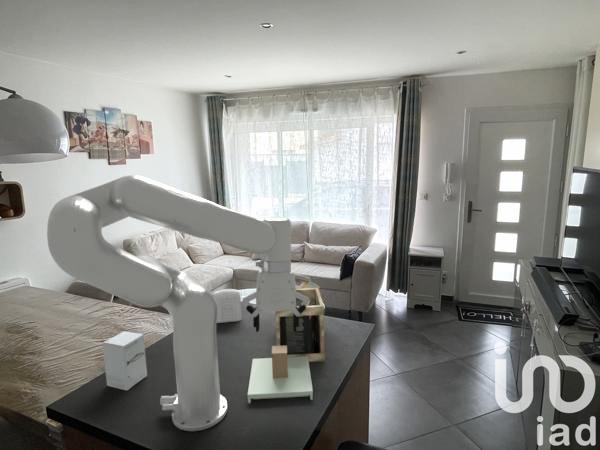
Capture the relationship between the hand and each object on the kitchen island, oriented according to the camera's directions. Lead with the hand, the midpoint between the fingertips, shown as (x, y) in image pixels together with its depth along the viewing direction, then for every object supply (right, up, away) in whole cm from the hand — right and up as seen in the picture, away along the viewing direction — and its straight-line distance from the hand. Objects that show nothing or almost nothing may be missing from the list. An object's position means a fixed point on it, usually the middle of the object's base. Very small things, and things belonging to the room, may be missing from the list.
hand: (276, 329), depth 94 cm
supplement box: (-41, -16, +5) cm, 44 cm away
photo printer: (-21, -9, +42) cm, 48 cm away
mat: (+1, -15, +3) cm, 15 cm away
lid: (+1, -15, +3) cm, 15 cm away
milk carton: (+6, -9, +37) cm, 39 cm away
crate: (+6, -12, +20) cm, 24 cm away
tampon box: (+6, -12, +20) cm, 24 cm away
